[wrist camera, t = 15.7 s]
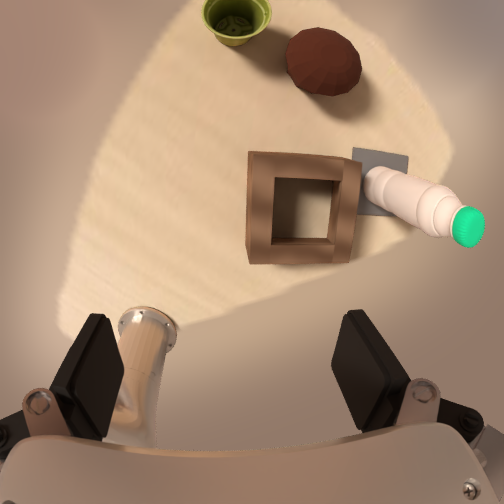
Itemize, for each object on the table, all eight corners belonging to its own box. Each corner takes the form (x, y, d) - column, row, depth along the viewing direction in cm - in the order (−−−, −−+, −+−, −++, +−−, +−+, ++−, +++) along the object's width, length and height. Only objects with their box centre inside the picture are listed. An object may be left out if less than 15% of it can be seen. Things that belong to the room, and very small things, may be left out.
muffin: (345, 47, 38) (372, 33, 29) (343, 105, 42) (371, 100, 33) (278, 35, 37) (292, 13, 27) (274, 94, 41) (288, 85, 32)
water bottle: (391, 162, 46) (493, 195, 24) (395, 198, 49) (490, 249, 26) (358, 169, 47) (456, 208, 24) (364, 207, 49) (454, 266, 27)
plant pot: (222, 0, 33) (223, -23, 25) (273, 23, 36) (283, 3, 28) (193, 41, 36) (188, 23, 28) (245, 64, 38) (250, 49, 30)
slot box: (332, 244, 52) (348, 262, 45) (245, 244, 50) (249, 264, 43) (341, 157, 46) (362, 162, 39) (248, 151, 44) (253, 154, 37)
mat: (399, 216, 51) (400, 216, 51) (346, 213, 50) (347, 213, 50) (407, 156, 47) (408, 156, 46) (352, 147, 45) (353, 147, 45)
